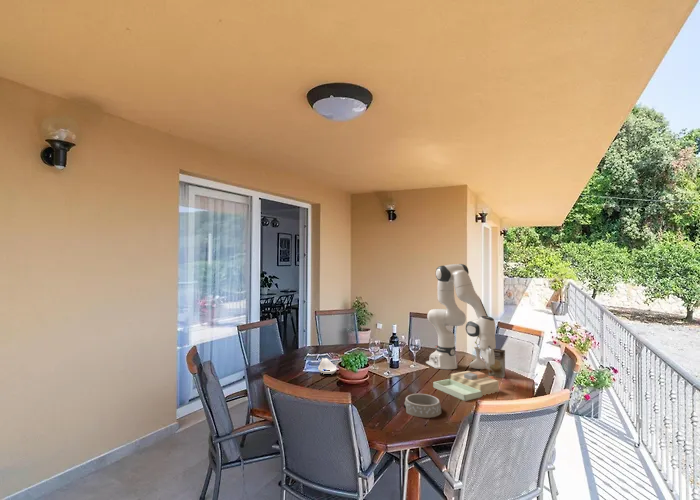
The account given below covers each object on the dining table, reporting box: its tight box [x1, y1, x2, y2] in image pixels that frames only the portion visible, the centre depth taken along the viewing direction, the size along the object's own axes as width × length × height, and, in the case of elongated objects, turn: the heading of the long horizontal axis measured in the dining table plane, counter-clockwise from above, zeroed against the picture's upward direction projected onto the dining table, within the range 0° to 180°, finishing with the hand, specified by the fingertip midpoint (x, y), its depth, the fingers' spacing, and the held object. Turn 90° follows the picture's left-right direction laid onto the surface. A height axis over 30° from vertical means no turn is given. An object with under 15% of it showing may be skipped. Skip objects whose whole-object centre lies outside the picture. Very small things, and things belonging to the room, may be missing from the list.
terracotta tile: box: [471, 370, 486, 378], centre depth 214 cm, size 5×5×2 cm
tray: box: [432, 378, 483, 402], centre depth 205 cm, size 24×12×3 cm, turn 29°
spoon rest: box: [318, 357, 338, 375], centre depth 244 cm, size 24×12×7 cm, turn 14°
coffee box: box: [488, 348, 506, 379], centre depth 236 cm, size 9×6×16 cm
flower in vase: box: [468, 337, 486, 370], centre depth 253 cm, size 13×11×25 cm
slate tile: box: [464, 373, 477, 380], centre depth 211 cm, size 5×5×2 cm
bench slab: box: [450, 370, 499, 397], centre depth 212 cm, size 22×14×6 cm, turn 29°
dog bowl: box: [403, 393, 442, 418], centre depth 180 cm, size 17×18×5 cm
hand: (487, 368), depth 217 cm, fingers closed
